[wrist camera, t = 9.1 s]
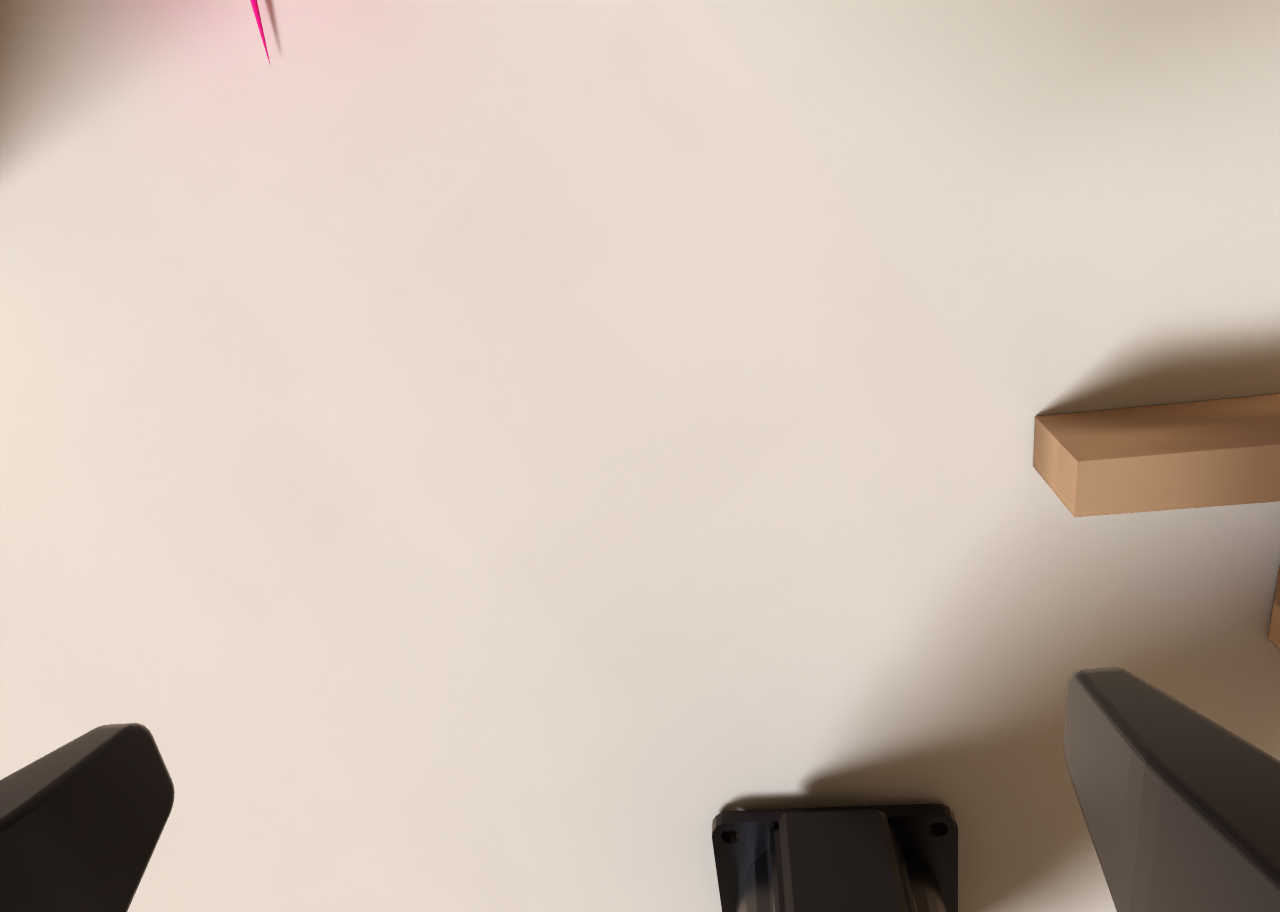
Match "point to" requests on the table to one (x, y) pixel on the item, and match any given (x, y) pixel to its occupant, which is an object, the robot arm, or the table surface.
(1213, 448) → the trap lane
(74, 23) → the table surface
